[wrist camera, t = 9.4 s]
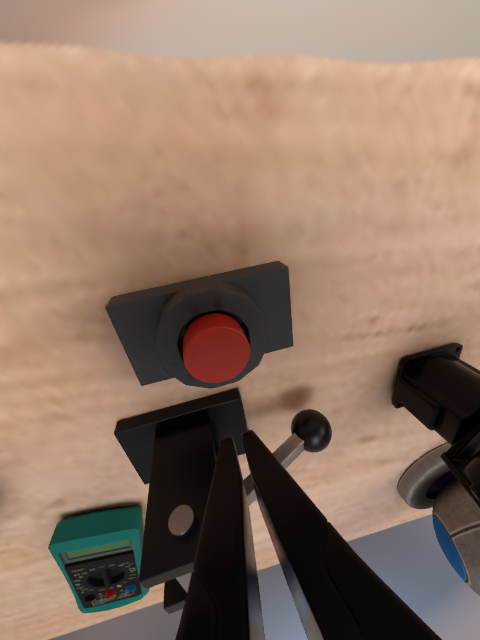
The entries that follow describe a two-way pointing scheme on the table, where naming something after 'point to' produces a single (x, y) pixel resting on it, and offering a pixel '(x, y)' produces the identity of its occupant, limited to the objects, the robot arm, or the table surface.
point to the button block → (193, 302)
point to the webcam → (446, 512)
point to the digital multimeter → (101, 557)
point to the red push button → (215, 348)
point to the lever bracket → (178, 480)
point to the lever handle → (291, 451)
